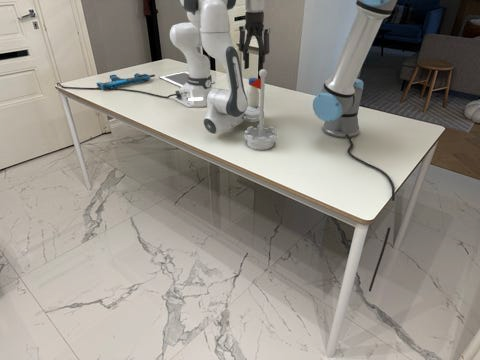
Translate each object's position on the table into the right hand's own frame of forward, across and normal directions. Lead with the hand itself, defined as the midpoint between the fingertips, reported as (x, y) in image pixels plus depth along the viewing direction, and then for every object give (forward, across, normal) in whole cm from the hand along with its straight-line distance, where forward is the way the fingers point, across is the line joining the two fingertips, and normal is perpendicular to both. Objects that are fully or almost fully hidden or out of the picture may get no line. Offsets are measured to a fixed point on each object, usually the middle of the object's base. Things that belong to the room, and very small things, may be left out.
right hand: (253, 69), depth 148 cm
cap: (+5, 0, 0) cm, 5 cm away
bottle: (+23, 0, 0) cm, 23 cm away
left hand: (+17, 0, -1) cm, 17 cm away
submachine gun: (+23, +96, -8) cm, 99 cm away
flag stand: (+23, -16, +21) cm, 35 cm away
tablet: (+23, +66, -31) cm, 77 cm away
